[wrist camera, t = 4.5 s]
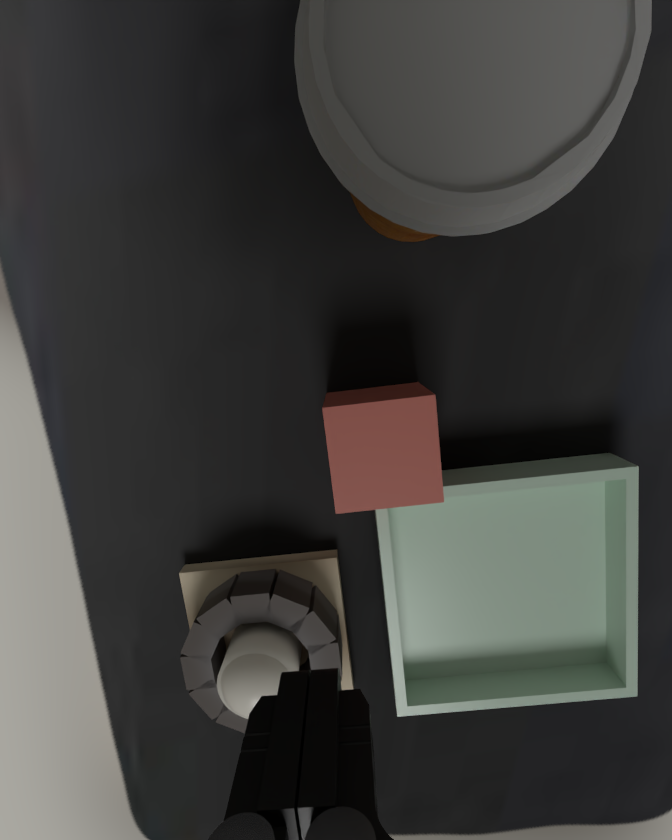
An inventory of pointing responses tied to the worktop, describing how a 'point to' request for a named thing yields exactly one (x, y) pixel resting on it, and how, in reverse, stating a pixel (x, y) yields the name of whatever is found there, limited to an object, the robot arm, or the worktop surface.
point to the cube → (383, 447)
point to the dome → (256, 664)
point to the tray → (514, 586)
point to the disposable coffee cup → (464, 103)
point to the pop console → (262, 617)
